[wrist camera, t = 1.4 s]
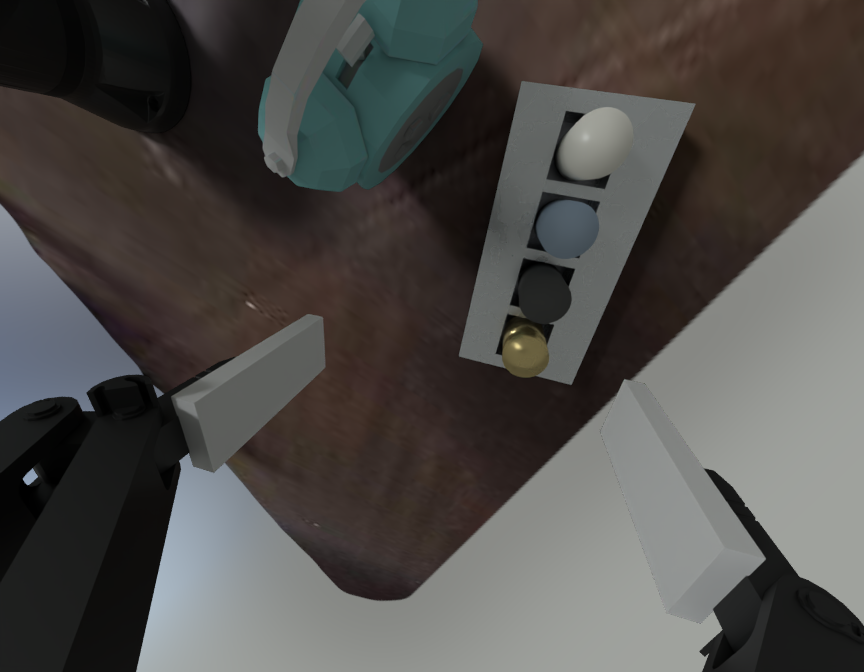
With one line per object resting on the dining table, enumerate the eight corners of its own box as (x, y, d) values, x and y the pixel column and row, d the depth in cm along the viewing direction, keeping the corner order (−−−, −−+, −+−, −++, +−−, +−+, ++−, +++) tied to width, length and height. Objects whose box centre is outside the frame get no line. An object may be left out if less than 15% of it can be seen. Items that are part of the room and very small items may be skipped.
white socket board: (463, 340, 41) (458, 356, 37) (520, 96, 29) (521, 81, 25) (565, 365, 39) (571, 384, 35) (668, 116, 27) (695, 103, 23)
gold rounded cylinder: (499, 345, 37) (497, 371, 32) (509, 311, 35) (508, 332, 30) (536, 354, 36) (540, 382, 31) (548, 320, 34) (555, 344, 29)
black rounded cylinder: (513, 297, 34) (513, 317, 29) (524, 258, 32) (527, 271, 27) (553, 307, 34) (561, 328, 28) (568, 267, 32) (579, 282, 26)
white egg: (548, 176, 29) (556, 173, 24) (565, 120, 27) (578, 102, 22) (597, 185, 28) (617, 183, 23) (618, 127, 26) (645, 112, 21)
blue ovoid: (529, 242, 32) (532, 253, 26) (543, 195, 30) (549, 196, 24) (573, 251, 31) (586, 263, 26) (590, 204, 29) (608, 207, 24)
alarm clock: (439, -30, 27) (300, -457, 9) (510, 64, 28) (508, -144, 11) (328, 140, 34) (134, 87, 17) (388, 207, 36) (270, 224, 18)
